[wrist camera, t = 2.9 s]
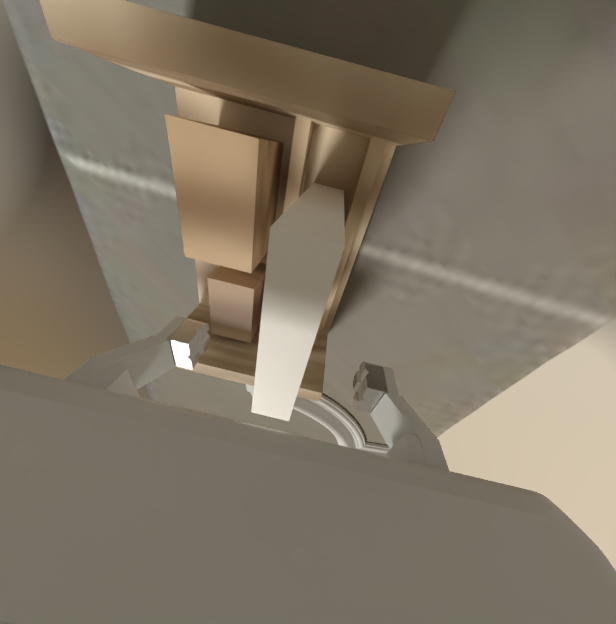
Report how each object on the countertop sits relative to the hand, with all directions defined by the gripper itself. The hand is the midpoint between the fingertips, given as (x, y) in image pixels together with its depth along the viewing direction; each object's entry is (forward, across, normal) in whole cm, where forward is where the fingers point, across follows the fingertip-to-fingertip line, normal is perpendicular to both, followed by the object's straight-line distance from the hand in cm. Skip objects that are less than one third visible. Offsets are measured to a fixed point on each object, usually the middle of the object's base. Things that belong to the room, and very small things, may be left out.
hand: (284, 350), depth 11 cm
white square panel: (+12, 0, 0) cm, 12 cm away
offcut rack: (+14, +4, 0) cm, 14 cm away
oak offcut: (+12, +6, -4) cm, 15 cm away
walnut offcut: (+12, +6, +5) cm, 15 cm away
